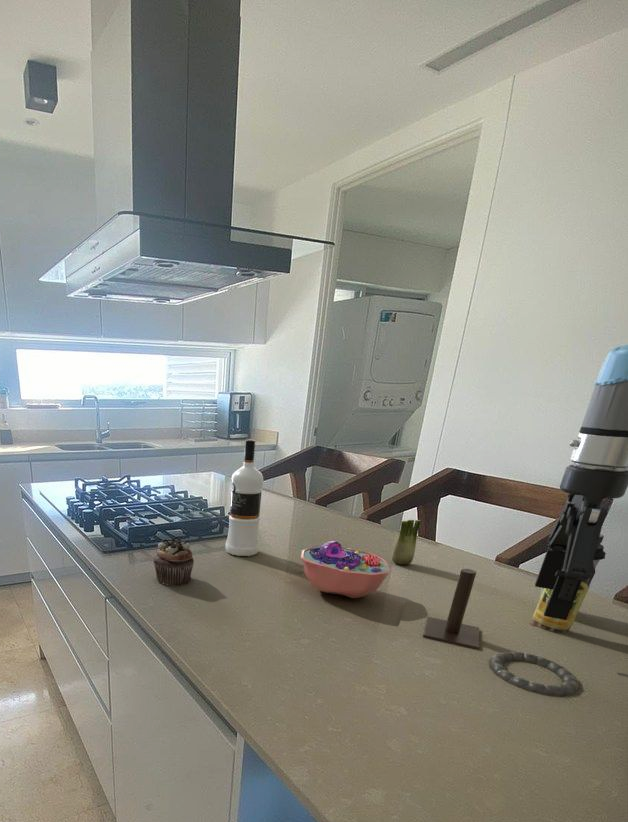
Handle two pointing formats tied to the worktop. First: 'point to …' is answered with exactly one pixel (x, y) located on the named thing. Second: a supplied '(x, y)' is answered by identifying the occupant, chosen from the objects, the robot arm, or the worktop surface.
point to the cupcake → (173, 562)
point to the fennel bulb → (406, 542)
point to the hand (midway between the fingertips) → (549, 601)
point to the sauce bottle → (565, 625)
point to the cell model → (344, 570)
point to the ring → (564, 689)
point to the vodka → (245, 506)
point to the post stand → (456, 617)
